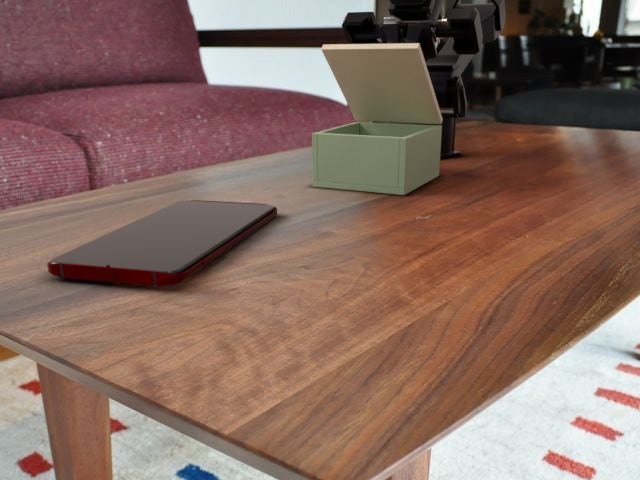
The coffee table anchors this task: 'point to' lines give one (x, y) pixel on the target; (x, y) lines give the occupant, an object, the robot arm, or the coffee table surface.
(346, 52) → the cover
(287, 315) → the coffee table surface
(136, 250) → the smartphone
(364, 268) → the coffee table surface
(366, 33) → the robot arm
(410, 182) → the case
